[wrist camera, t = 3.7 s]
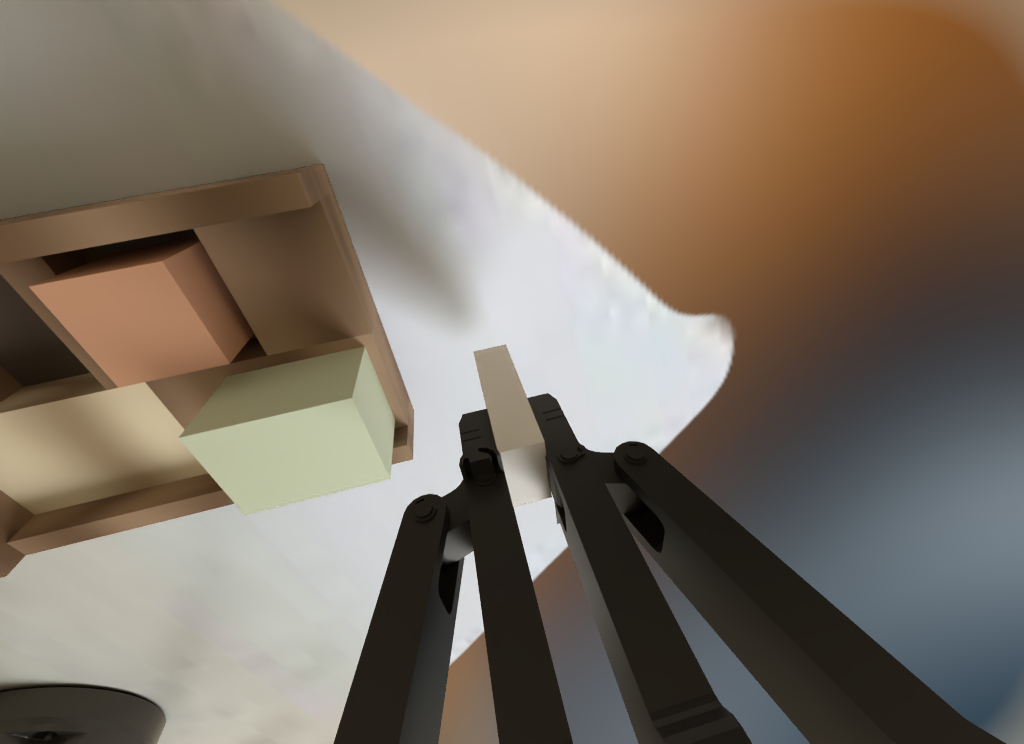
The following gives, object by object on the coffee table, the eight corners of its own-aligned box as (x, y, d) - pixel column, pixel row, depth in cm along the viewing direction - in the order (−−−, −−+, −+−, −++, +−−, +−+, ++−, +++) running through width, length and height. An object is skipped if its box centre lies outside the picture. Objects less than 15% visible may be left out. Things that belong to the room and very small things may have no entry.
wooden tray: (68, 492, 21) (-19, 582, 17) (-217, 257, 14) (-494, 313, 10) (414, 410, 23) (412, 473, 18) (323, 163, 15) (287, 176, 11)
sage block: (275, 448, 19) (244, 515, 16) (226, 376, 17) (178, 438, 13) (395, 419, 20) (390, 478, 16) (365, 346, 17) (351, 397, 14)
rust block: (175, 339, 18) (118, 387, 14) (112, 252, 15) (28, 286, 12) (264, 320, 18) (229, 363, 15) (216, 233, 16) (161, 261, 12)
